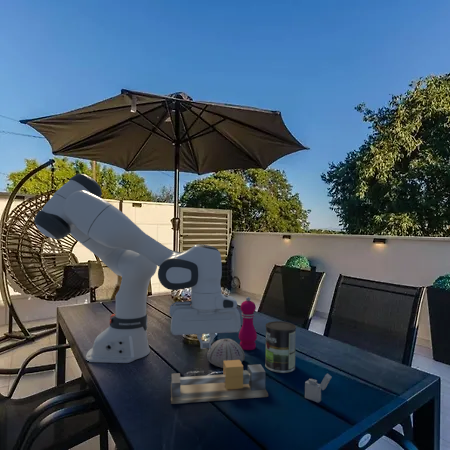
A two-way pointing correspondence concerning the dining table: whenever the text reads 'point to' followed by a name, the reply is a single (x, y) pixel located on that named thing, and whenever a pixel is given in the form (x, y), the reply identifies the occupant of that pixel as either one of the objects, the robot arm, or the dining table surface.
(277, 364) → the coffee can
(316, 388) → the lighter
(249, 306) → the pepper mill
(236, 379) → the tan wooden block
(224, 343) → the sea urchin shell
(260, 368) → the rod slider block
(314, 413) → the dining table surface
